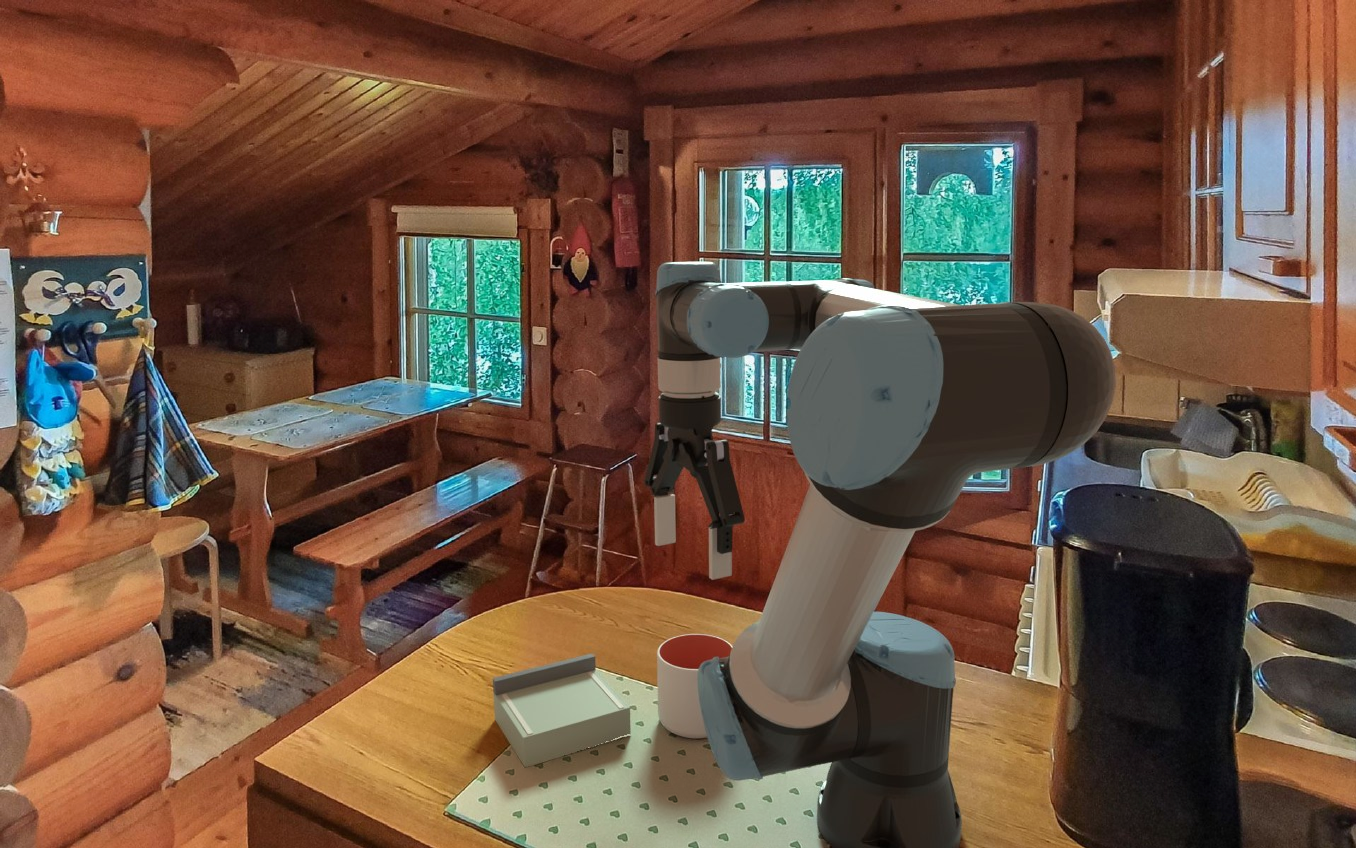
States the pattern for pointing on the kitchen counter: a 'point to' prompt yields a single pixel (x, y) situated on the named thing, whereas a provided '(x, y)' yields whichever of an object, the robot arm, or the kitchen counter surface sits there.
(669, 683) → the cup
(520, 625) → the kitchen counter surface
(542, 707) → the dock
